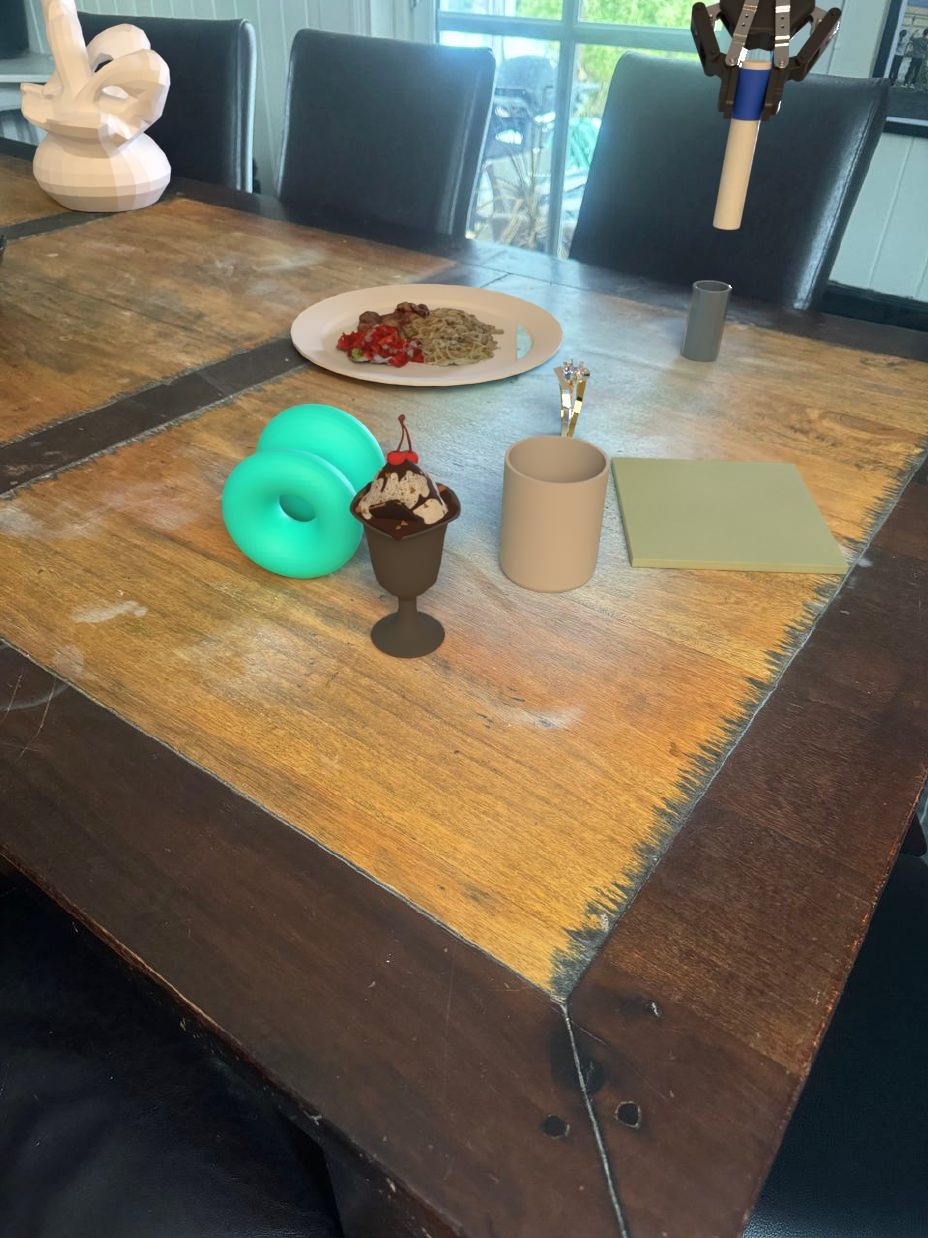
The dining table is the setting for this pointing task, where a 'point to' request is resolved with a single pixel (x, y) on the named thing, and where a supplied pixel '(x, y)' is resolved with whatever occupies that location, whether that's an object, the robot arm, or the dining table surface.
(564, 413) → the ring
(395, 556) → the sundae
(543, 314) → the plated food
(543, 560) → the cup
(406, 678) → the dining table surface
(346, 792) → the dining table surface
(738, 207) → the marker
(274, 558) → the donuts
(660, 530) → the mat
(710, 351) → the grey hollow cylinder
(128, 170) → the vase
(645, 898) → the dining table surface
